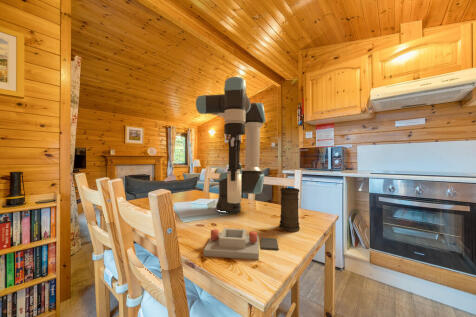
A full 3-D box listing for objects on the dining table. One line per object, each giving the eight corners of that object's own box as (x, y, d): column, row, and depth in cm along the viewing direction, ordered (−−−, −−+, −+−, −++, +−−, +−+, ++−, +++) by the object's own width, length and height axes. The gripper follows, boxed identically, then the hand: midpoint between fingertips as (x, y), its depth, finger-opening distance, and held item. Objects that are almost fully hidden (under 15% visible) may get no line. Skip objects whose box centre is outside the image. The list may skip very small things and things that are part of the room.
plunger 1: (211, 236, 70) (211, 229, 70) (219, 237, 70) (219, 229, 70) (209, 240, 68) (209, 232, 68) (217, 240, 67) (217, 232, 67)
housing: (213, 237, 76) (213, 224, 76) (258, 239, 74) (258, 227, 74) (203, 255, 62) (203, 240, 62) (258, 259, 60) (258, 244, 60)
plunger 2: (249, 238, 69) (249, 231, 69) (257, 239, 69) (257, 231, 69) (248, 242, 66) (249, 234, 66) (257, 242, 66) (257, 234, 66)
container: (300, 232, 81) (301, 191, 81) (279, 231, 83) (280, 190, 83) (298, 225, 90) (299, 187, 90) (279, 223, 92) (279, 186, 91)
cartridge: (228, 199, 71) (228, 170, 71) (241, 200, 70) (242, 171, 70) (226, 203, 66) (226, 172, 66) (240, 203, 65) (240, 172, 65)
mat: (261, 238, 75) (261, 237, 75) (276, 239, 74) (276, 238, 74) (261, 248, 67) (261, 247, 67) (278, 250, 66) (278, 248, 66)
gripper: (228, 126, 76) (228, 184, 77) (219, 119, 59) (218, 193, 59) (246, 126, 76) (246, 184, 77) (243, 118, 58) (242, 194, 59)
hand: (234, 188), depth 68 cm, fingers closed on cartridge, 5 cm apart
